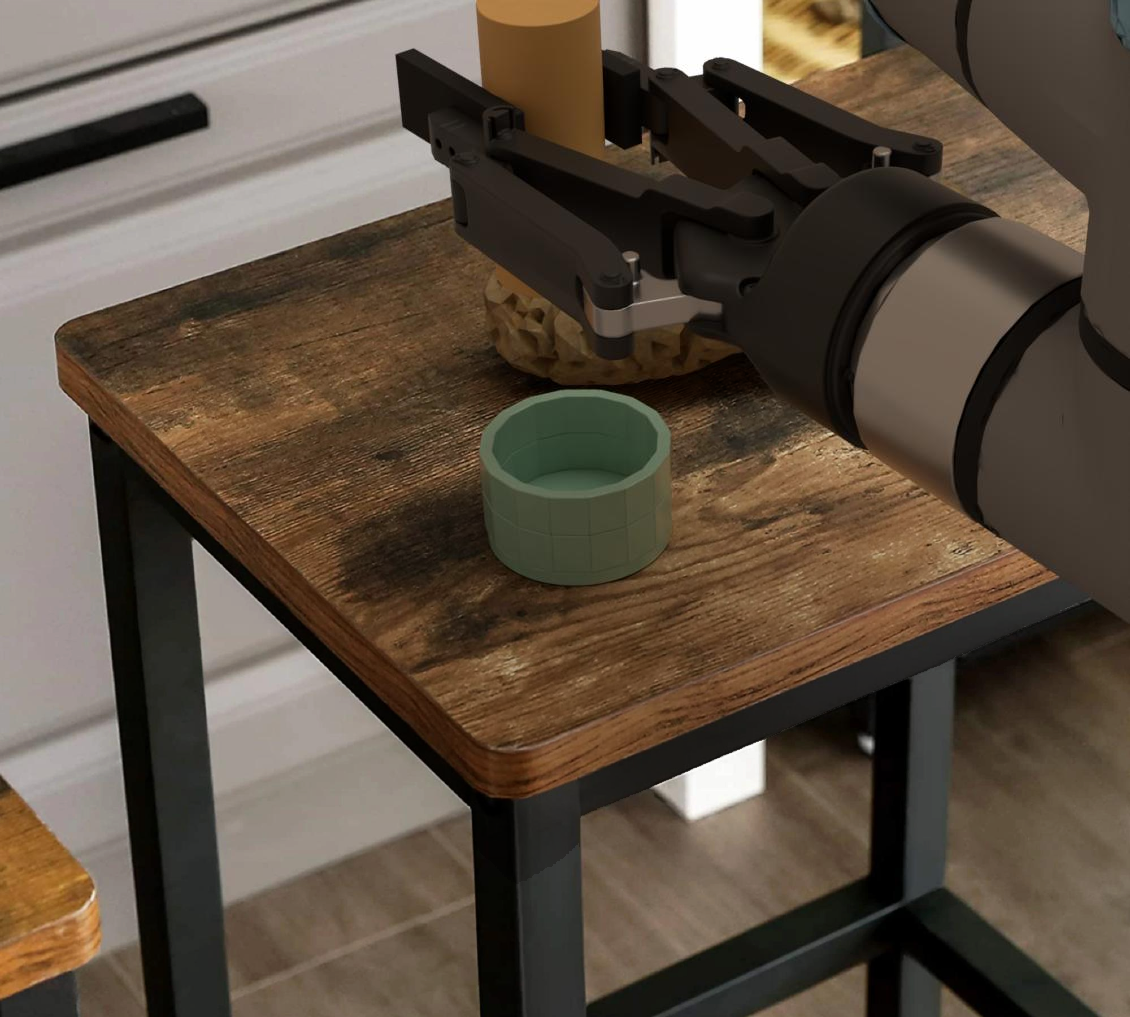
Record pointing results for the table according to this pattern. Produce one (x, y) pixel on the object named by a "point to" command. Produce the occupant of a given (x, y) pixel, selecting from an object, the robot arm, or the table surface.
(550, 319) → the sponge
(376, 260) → the table surface
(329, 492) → the table surface
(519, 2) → the tall orange cylinder
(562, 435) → the green ceramic dish
